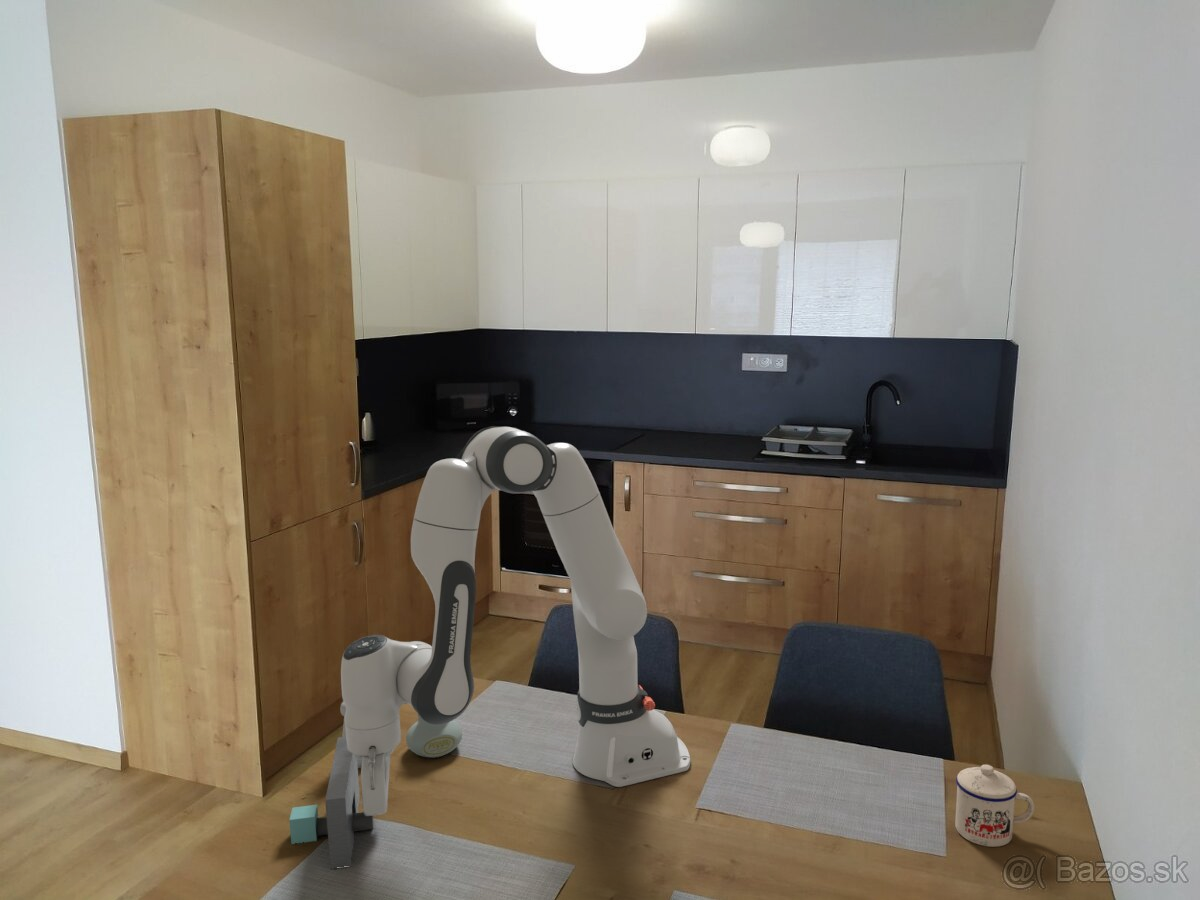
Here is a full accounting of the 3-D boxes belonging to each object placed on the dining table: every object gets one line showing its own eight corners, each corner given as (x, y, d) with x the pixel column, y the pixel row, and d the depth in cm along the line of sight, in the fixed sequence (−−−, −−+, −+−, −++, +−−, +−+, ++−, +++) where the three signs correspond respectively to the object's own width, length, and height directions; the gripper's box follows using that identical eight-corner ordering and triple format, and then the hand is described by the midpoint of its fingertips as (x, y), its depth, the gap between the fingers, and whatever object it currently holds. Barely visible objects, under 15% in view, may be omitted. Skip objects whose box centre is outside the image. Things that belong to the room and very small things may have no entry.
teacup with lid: (960, 846, 141) (964, 779, 139) (948, 813, 150) (952, 750, 148) (1040, 853, 139) (1045, 786, 137) (1023, 819, 148) (1028, 756, 146)
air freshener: (456, 734, 180) (454, 689, 178) (467, 753, 173) (465, 706, 171) (403, 746, 176) (400, 700, 174) (412, 766, 168) (409, 717, 166)
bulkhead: (359, 797, 158) (355, 735, 156) (350, 866, 139) (345, 797, 137) (342, 799, 157) (337, 737, 155) (330, 869, 138) (325, 800, 136)
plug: (373, 821, 151) (372, 797, 150) (372, 833, 147) (370, 809, 146) (294, 831, 148) (292, 807, 148) (291, 844, 145) (289, 819, 144)
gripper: (391, 762, 136) (398, 842, 139) (394, 703, 156) (400, 774, 159) (349, 768, 135) (357, 849, 138) (358, 708, 155) (364, 779, 158)
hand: (380, 808), depth 148 cm, fingers closed
